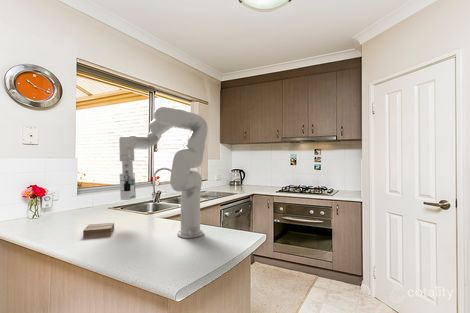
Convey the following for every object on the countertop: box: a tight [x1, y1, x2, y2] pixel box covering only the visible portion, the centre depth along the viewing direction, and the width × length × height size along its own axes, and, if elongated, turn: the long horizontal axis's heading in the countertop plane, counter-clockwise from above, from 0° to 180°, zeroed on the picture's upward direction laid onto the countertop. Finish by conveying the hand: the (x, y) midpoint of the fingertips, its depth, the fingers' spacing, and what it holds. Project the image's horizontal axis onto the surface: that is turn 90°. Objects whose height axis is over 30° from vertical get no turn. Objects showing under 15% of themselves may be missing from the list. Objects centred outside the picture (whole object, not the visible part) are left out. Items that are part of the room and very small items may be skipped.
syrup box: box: [119, 172, 137, 201], centre depth 143 cm, size 6×6×14 cm
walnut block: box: [82, 222, 115, 239], centre depth 130 cm, size 12×12×4 cm
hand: (127, 190), depth 143 cm, fingers closed on syrup box, 7 cm apart
